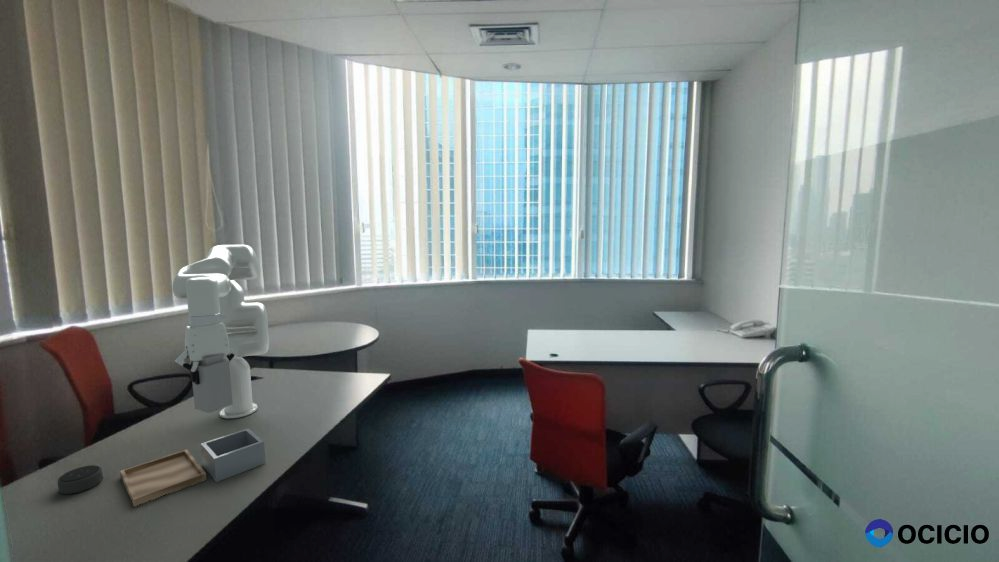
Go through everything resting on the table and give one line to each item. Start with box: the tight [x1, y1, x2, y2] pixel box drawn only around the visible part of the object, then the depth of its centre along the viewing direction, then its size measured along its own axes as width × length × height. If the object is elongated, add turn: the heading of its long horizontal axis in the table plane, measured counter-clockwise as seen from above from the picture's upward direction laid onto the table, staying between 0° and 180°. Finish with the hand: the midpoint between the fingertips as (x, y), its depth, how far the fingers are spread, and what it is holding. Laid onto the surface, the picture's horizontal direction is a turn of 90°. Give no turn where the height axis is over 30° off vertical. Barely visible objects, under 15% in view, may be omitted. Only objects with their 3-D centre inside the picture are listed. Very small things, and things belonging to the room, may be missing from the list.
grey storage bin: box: [200, 428, 266, 483], centre depth 131 cm, size 13×13×7 cm
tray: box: [119, 449, 207, 507], centre depth 124 cm, size 20×16×2 cm
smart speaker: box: [57, 464, 103, 495], centre depth 120 cm, size 9×9×4 cm
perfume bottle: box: [191, 353, 233, 414], centre depth 126 cm, size 7×7×18 cm
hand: (210, 379), depth 126 cm, fingers closed on perfume bottle, 6 cm apart
